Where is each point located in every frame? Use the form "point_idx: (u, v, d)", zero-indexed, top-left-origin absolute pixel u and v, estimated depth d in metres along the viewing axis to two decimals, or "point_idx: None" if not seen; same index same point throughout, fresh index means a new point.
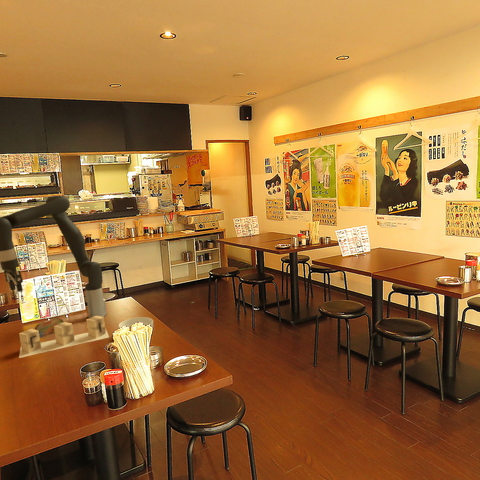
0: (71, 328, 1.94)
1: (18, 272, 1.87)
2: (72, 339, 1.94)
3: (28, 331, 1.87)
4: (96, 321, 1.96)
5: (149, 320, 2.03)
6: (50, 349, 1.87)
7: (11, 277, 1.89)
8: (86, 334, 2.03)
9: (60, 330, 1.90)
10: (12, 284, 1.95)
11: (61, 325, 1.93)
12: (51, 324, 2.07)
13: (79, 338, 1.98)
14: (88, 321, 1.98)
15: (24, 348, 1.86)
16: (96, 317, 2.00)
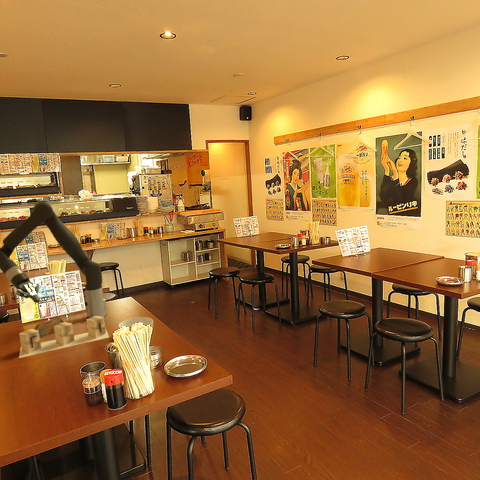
0: (71, 328, 1.94)
1: (18, 292, 1.93)
2: (72, 339, 1.94)
3: (28, 331, 1.87)
4: (96, 321, 1.96)
5: (149, 320, 2.03)
6: (50, 349, 1.87)
7: None
8: (86, 334, 2.03)
9: (60, 330, 1.90)
10: None
11: (61, 325, 1.93)
12: (51, 324, 2.07)
13: (79, 338, 1.98)
14: (88, 321, 1.98)
15: (24, 348, 1.86)
16: (96, 317, 2.00)
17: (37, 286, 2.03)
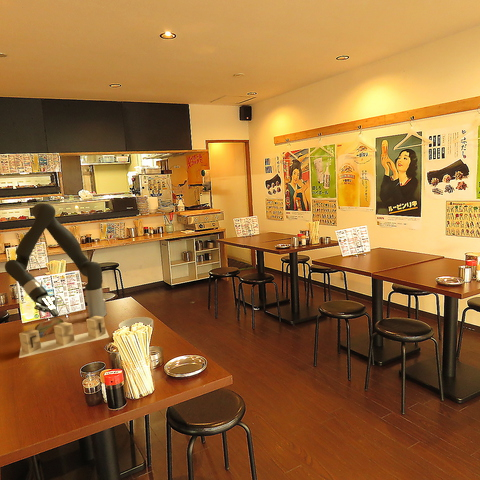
0: (71, 328, 1.94)
1: (36, 307, 1.89)
2: (72, 339, 1.94)
3: (28, 331, 1.87)
4: (96, 321, 1.96)
5: (149, 320, 2.03)
6: (50, 349, 1.87)
7: None
8: (86, 334, 2.03)
9: (60, 330, 1.90)
10: None
11: (61, 325, 1.93)
12: (51, 324, 2.07)
13: (79, 338, 1.98)
14: (88, 321, 1.98)
15: (24, 348, 1.86)
16: (96, 317, 2.00)
17: (55, 300, 1.98)
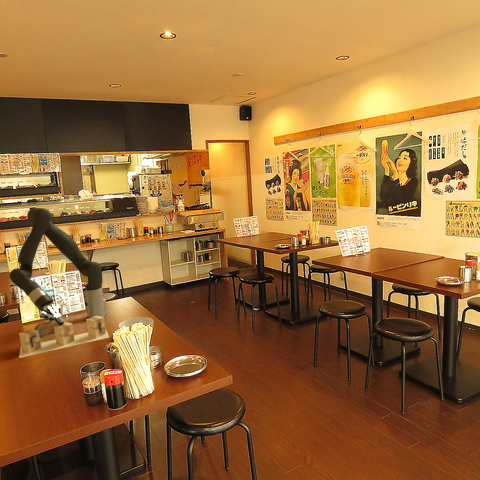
0: (71, 328, 1.94)
1: (42, 315, 1.89)
2: (72, 339, 1.94)
3: (28, 331, 1.87)
4: (96, 321, 1.96)
5: (149, 320, 2.03)
6: (50, 349, 1.87)
7: None
8: (86, 334, 2.03)
9: (60, 330, 1.90)
10: None
11: (61, 325, 1.93)
12: (51, 324, 2.07)
13: (79, 338, 1.98)
14: (88, 321, 1.98)
15: (24, 348, 1.86)
16: (96, 317, 2.00)
17: (61, 308, 1.98)
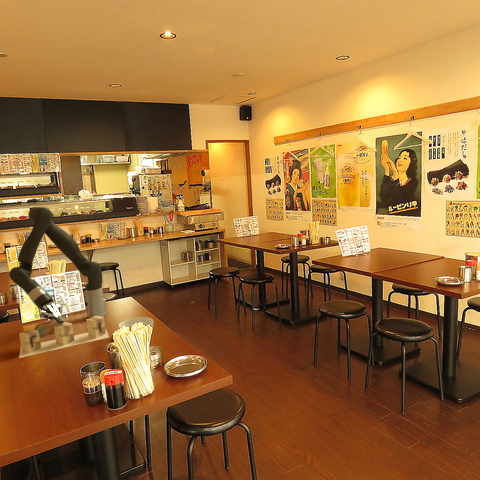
0: (71, 328, 1.94)
1: (42, 314, 1.89)
2: (72, 339, 1.94)
3: (28, 331, 1.87)
4: (96, 321, 1.96)
5: (149, 320, 2.03)
6: (50, 349, 1.87)
7: None
8: (86, 334, 2.03)
9: (60, 330, 1.90)
10: None
11: (61, 325, 1.93)
12: (51, 324, 2.07)
13: (79, 338, 1.98)
14: (88, 321, 1.98)
15: (24, 348, 1.86)
16: (96, 317, 2.00)
17: (60, 306, 1.98)
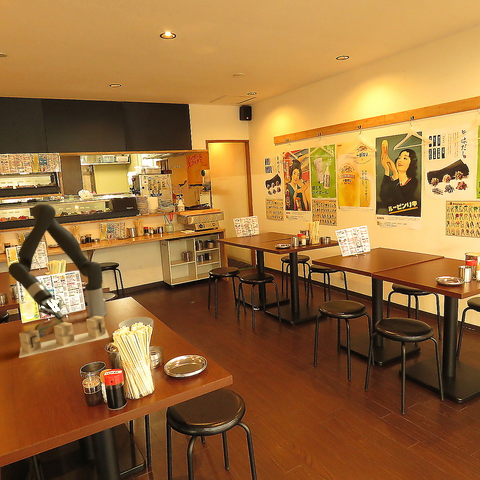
0: (71, 328, 1.94)
1: (41, 310, 1.88)
2: (72, 339, 1.94)
3: (28, 331, 1.87)
4: (96, 321, 1.96)
5: (149, 320, 2.03)
6: (50, 349, 1.87)
7: None
8: (86, 334, 2.03)
9: (60, 330, 1.90)
10: None
11: (61, 325, 1.93)
12: (51, 324, 2.07)
13: (79, 338, 1.98)
14: (88, 321, 1.98)
15: (24, 348, 1.86)
16: (96, 317, 2.00)
17: (60, 302, 1.98)
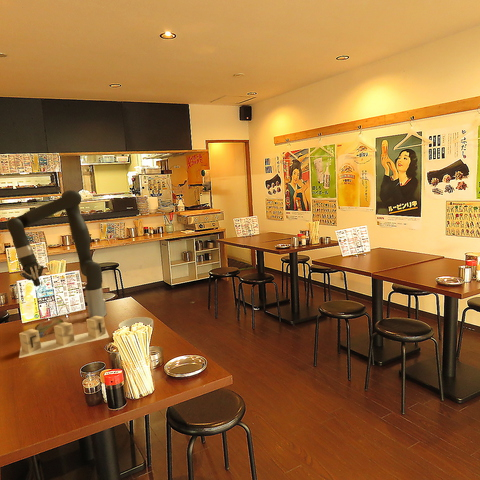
0: (71, 328, 1.94)
1: (22, 275, 2.01)
2: (72, 339, 1.94)
3: (28, 331, 1.87)
4: (96, 321, 1.96)
5: (149, 320, 2.03)
6: (50, 349, 1.87)
7: None
8: (86, 334, 2.03)
9: (60, 330, 1.90)
10: None
11: (61, 325, 1.93)
12: (51, 324, 2.07)
13: (79, 338, 1.98)
14: (88, 321, 1.98)
15: (24, 348, 1.86)
16: (96, 317, 2.00)
17: (41, 268, 2.10)
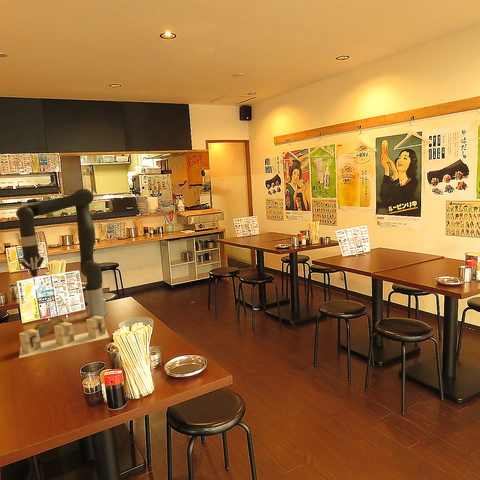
0: (71, 328, 1.94)
1: (21, 263, 2.04)
2: (72, 339, 1.94)
3: (28, 331, 1.87)
4: (96, 321, 1.96)
5: (149, 320, 2.03)
6: (50, 349, 1.87)
7: None
8: (86, 334, 2.03)
9: (60, 330, 1.90)
10: None
11: (61, 325, 1.93)
12: (51, 324, 2.07)
13: (79, 338, 1.98)
14: (88, 321, 1.98)
15: (24, 348, 1.86)
16: (96, 317, 2.00)
17: (41, 260, 2.12)
